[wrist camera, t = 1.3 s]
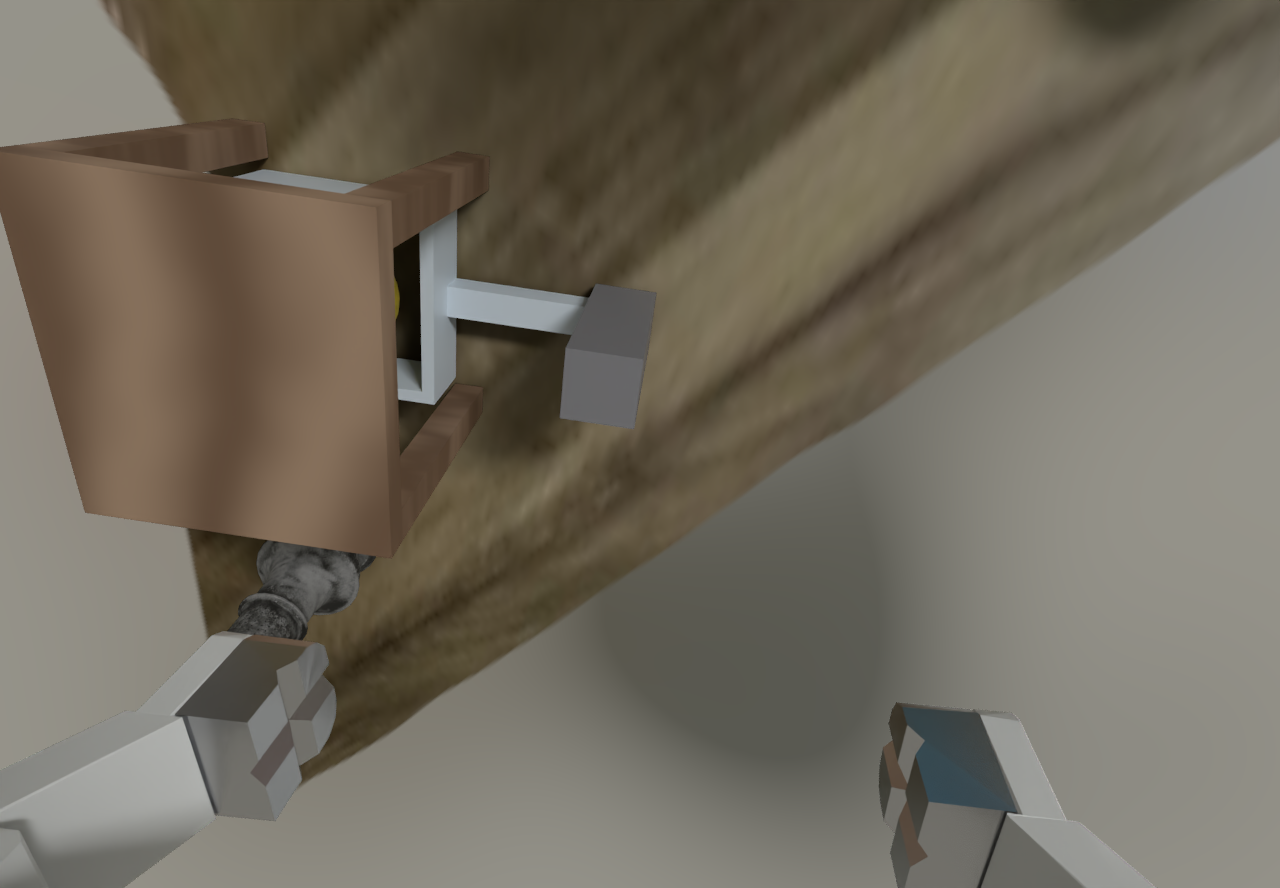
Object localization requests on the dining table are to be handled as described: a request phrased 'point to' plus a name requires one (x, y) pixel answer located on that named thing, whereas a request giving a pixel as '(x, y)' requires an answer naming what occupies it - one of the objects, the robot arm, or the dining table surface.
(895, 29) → the dining table surface
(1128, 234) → the dining table surface
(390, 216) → the tunnel
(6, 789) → the robot arm
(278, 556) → the gray stone ornament
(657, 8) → the dining table surface
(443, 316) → the slider
